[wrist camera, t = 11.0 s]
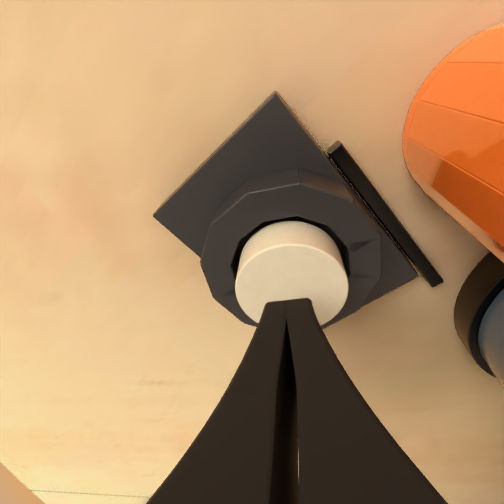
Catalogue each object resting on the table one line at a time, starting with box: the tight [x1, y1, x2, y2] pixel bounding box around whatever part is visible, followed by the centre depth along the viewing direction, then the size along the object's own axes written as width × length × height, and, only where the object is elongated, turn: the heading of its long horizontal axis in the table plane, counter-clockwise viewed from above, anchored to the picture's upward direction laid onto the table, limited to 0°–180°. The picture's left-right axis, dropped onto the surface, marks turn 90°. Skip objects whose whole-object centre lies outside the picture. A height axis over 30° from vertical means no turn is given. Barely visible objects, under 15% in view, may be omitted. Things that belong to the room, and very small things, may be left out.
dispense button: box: [235, 221, 349, 326], centre depth 11 cm, size 4×4×2 cm
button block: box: [153, 91, 418, 329], centre depth 13 cm, size 10×7×3 cm
